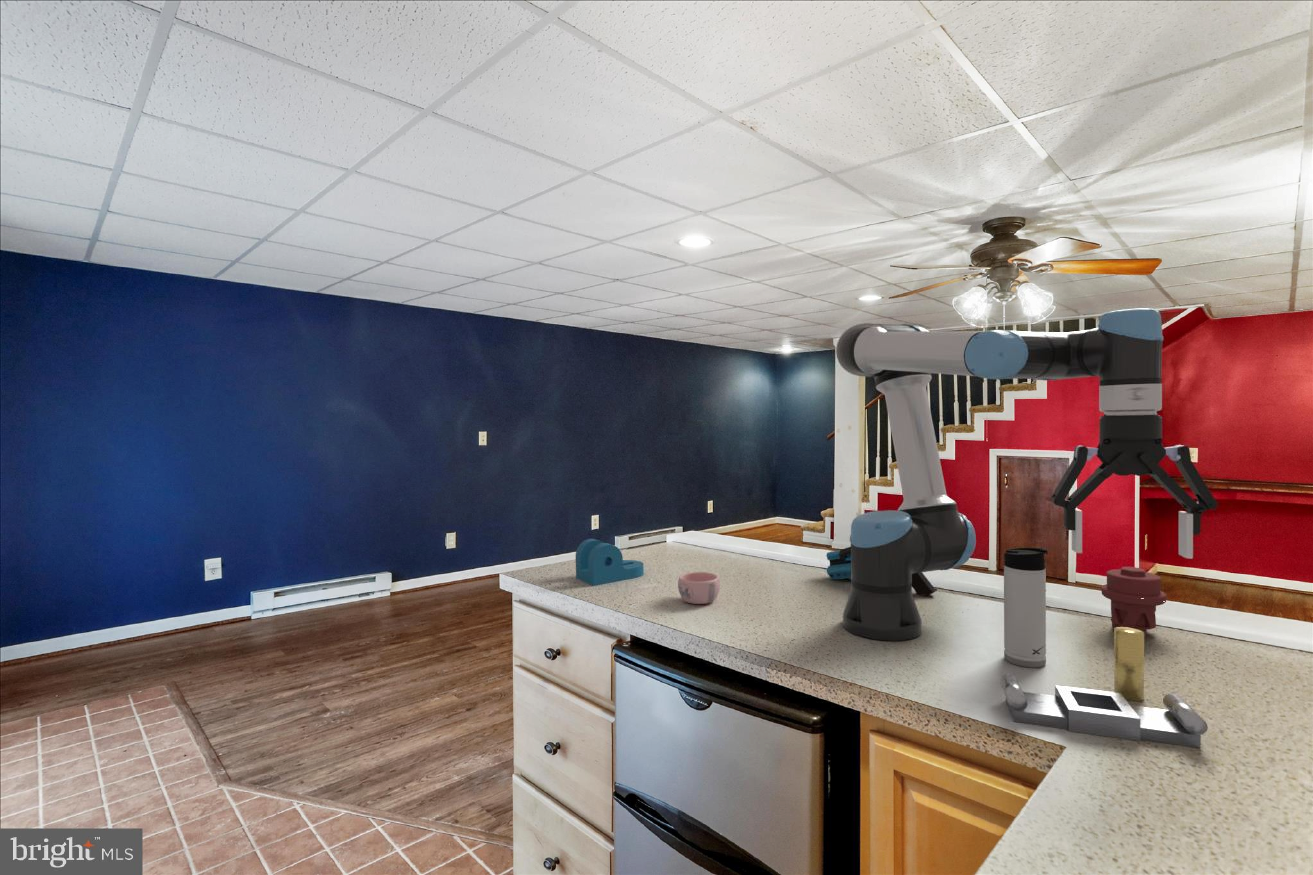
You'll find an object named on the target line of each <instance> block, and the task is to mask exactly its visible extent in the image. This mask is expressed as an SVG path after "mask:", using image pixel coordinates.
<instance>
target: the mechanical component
mask: <svg viewBox="0 0 1313 875" xmlns="http://www.w3.org/2000/svg"><path fill="white" fill-rule="evenodd" d="M1161 579H1162V578H1161V576H1159V575H1158V574H1155V573H1152V572H1149V571H1148V572H1147V571H1146V569H1144V568H1140V567H1135V566H1122V567H1121V568H1119V569H1116V568H1115V569H1114V568H1113V569H1110V570H1108V571H1107V570H1106V584H1104V585H1102V586H1101V595H1102V596H1103V597H1104V598H1106V599H1108V600H1109V601H1110V616H1111V617H1110V621H1111V627H1112V629H1114V628H1116V627H1128V628H1133V629H1137V630H1140V631H1142V632H1144V638H1145V637H1147V636H1146V635H1147V634H1146V633H1147V632H1146V631H1147V630H1149V631H1150V630H1153V629H1155V628H1156V627H1157V622H1156V620H1157V618H1156V612H1157V606H1161V605H1164V604H1165V603H1166V602H1167V594H1166V593H1165V592H1164V591H1163V590H1161V589H1162V587H1161ZM1141 598H1144V599H1141ZM1163 601H1165V602H1163Z"/></svg>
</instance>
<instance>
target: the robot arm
mask: <svg viewBox="0 0 1313 875" xmlns="http://www.w3.org/2000/svg"><path fill="white" fill-rule="evenodd" d="M1162 327H1163V325H1162V316H1161V313H1160V312H1159V311H1158V310H1156V309H1154V308H1147V307H1146V308H1129V309H1121V310H1120V309H1119V310H1118V309H1117V310H1113V311H1109V312H1105V313H1103V314H1101V315H1100V316H1099V319H1098V324H1097V327H1096V328H1091V329H1085V330H1080V331H1079V330H1078V331H1069V332H1055V331H1054V332H1053V331H1051V332H1049V331H1020V330H1009V329H991V330H952V331H951V330H949V331H947V330H942V331H940V330H937V331H935V330H934V331H932V330H931V331H929V330H928V329H926V328H924V327H922V326H918V325H912V324H908V323H901V324H896V323H895V324H892V323H886V324H885V323H871V322H869V323H859V324H856V325H852V326H851V327H849V328H847V329H846V330H845V331H844V332H842V334H841V335H840V337H839V339H838V340H837V344H836V347H835V348H836V349H835V353H836V359H837V361H838V363H839V364H840V367H841V368H842V369H843V370H845V371H846V372H847V373H848V374H849V373H850V374H851V375H854V376H858V377H862V378H863V377H864V378H865V377H867V378H874V382H875V389H876V390H877V391H878V392H880V393H882V394H883V395H884V396H885V397H884V398H885V403H886V404H885V405H886V411H887V414H888V415H887V416H888V420H889V425H890V431H891V437H892V442H893V448H894V453H895V460H896V465H897V471H898V476H899V477H898V478H899V481H900V487H901V492H902V493H901V494H902V497H903V501H902V503H901V505H900V506H899V507H898V509H897V510H893V509H891V510H890V509H888V510H887V509H886V510H874V511H870V512H869V511H868V512H865V513H862V514H859V515H858V516H856V517H854V518H853V520H852V522H851V524H850V535H849V542H850V547H851V578H850V579H851V580H850V585H851V586H850V588H851V589H850V592H849V595H848V598H847V600H846V603H845V606H844V610H843V612H842V626H843V628H844V629H845V630H846V631H847V632H850V633H851V634H854V635H856V636H859V637H863V638H867V639H872V640H877V641H878V640H880V641H893V642H894V641H905V640H911V639H915V638H918V637H920V635H922V631H923V629H922V628H923V625H922V624H923V622H922V618H921V615H920V612H919V609H918V606H917V602H916V601H915V598H914V595H913V588H912V574H914V573H921V572H922V573H927V572H934V571H936V572H937V571H948V570H950V569H953V568H954V569H955V568H958V567H961V566H963V565H965V563H967V562H968V561H969V559H970V557H971V556H972V555H973V554H974V551H975V549H976V544H977V538H976V537H977V536H976V531H975V528H974V526H973V524H972V521H970V520H968V517H967V516H966V515H964V514H963V513H960V512H959V511H958V510H959V509H958V506H957V502H956V501H955V500H953V498H950V497H949V496H948V494H947V491H946V490H947V489H946V485H945V479H944V475H943V470H942V465H941V459H940V453H939V448H938V443H937V437H936V433H935V432H936V431H935V428H934V422H933V418H932V412H931V407H930V406H931V405H930V402H929V398H928V391H927V386H928V385H929V383H930V382H931V380H932V374H940V375H941V374H942V375H954V376H969V377H978V378H983V379H988V380H1007V379H1009V380H1010V379H1012V380H1013V379H1028V380H1030V379H1032V380H1035V381H1053V382H1054V381H1059V380H1065V379H1066V380H1067V379H1078V378H1088V377H1089V378H1090V377H1093V378H1095V377H1098V381H1099V395H1098V397H1099V404H1098V407H1099V409H1098V410H1099V412H1100V413H1103V415H1101V416H1100V417H1099V418H1098V426H1099V427H1098V428H1099V430H1098V434H1099V435H1098V438H1099V439H1098V441H1099V442H1098V446H1097V447H1089V446H1084V445H1076V446H1075V447H1074V451H1073V456H1072V457H1073V459H1072V461H1071V463H1070V464H1069V466H1068V468H1066V471H1065V473H1064V474H1063V476H1062V478H1061V479H1060V481H1059V483H1058V484H1057V486H1056V487H1055V490H1054V491H1053V492H1052V494H1051V495H1050V500H1049V501H1050V503H1052V504H1054V505H1056V506H1058V507H1062V509H1063V525H1064V528H1065V529H1066V530H1067V531H1071V550H1072V551H1074V552H1075V553H1076V554H1083V510H1081V509H1079V508H1078V506H1080V505H1081V504H1082V503H1083V502H1084V501H1085V500H1086V499H1087V498H1088V497H1090V495H1091V494H1092V493H1093V492H1094V491H1096V489H1097V488H1099V487H1100V485H1102V483H1103V482H1104V481H1106V480H1107V479H1108V478H1110V477H1111V476H1112V475H1116V476H1121V477H1124V476H1125V477H1126V476H1130V475H1131V476H1132V475H1134V476H1137V477H1145V476H1147V475H1149V476H1150V477H1152V479H1154V480H1155V481H1156V482H1157V483H1158V484H1159V485H1160V486H1161V487H1163V489H1164V490H1166V491H1167V493H1168V494H1169V495H1170V496H1171V497H1173V498H1174V499H1175V500H1176V502H1178V503H1179V505H1181V506H1182V507H1183V508H1184V509H1185V510H1186V511H1183V510H1179V511H1178V555H1179V556H1181V557H1183V558H1185V559H1191V560H1192V559H1193V558H1194V539H1193V538H1194V536H1200V534H1201V532H1202V527H1201V526H1202V515H1203V514H1204V513H1205V512H1206V511H1210V510H1216V509H1218V507H1219V504H1218V502H1217V500H1216V498H1215V497H1214V495H1213V494H1212V492H1211V491H1210V489H1209V487H1208V486H1207V484H1206V482H1205V481H1204V479H1203V477H1202V476H1201V474H1200V473H1199V471H1198V470H1197V468H1196V466H1195V465H1194V463H1193V461H1192V457H1191V449H1190V447H1189V446H1187V445H1181V444H1175V445H1174V446H1167V447H1164V445H1163V416H1161V415H1160V414H1158V413H1157V412H1158V411H1161V410H1162V409H1163V383H1162V382H1163V381H1162V371H1163V370H1162V365H1163V364H1162V363H1163V341H1164V340H1165V339H1164V338H1165V337H1164V336H1163V328H1162ZM1094 456H1096V457H1097V459H1099V460H1100V461H1101V463H1100V465H1099V466H1098V467H1097V468H1096V469H1095V470H1094V472H1092V474H1091V475H1090V476H1089V477H1088V478H1086V480H1085V481H1084V482H1083V483H1082V484H1081V485H1080V486H1078V487H1077V488H1076V489H1075V491H1073V492H1072V493H1071V494H1070V495H1069V497H1067V496H1068V494H1069V493H1070V491H1071V490H1072V488H1073V486H1074V484H1075V483H1076V481H1077V479H1078V478H1079V476H1080V474H1081V473H1082V471H1083V469H1084V467H1085V466H1086V465H1087V464H1086V463H1087V462H1088V461H1089V462H1090V461H1091V460H1092V458H1093V457H1094ZM1166 456H1167V457H1168V459H1170V460H1171V461H1172V462H1173V461H1174V463H1175V466H1176V467H1177V469H1178V471H1179V473H1180V474H1181V475H1182V478H1183V479H1184V480H1185V482H1186V484H1187V485H1188V487H1189V488H1190V490H1191V492H1192V493H1193V495H1194V497H1195V498H1196V499H1197V501H1196V500H1195V499H1194V498H1193V497H1191V495H1190V494H1189V493H1188V492H1187V491H1185V490H1184V488H1182V487H1181V486H1180V485H1179V484H1178V483H1177V482H1176V481H1175V480H1174V479H1173V477H1171V476H1170V475H1169V474H1168V472H1167V471H1166V470H1165V469H1164V468H1163V467H1162V466H1161V465H1160V464H1159V463H1160V462H1162V460H1163V459H1164V458H1165V457H1166ZM1193 560H1194V559H1193Z"/></svg>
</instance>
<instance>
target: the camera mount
mask: <svg viewBox="0 0 1313 875" xmlns="http://www.w3.org/2000/svg"><path fill="white" fill-rule="evenodd" d="M623 558H624V557H623V553H622V551H621V549H620V548H619V547H617V546H616V545H613V544H611V543H608V542H607V543H606V542H603V541H601V540H598V539H595V538H588V539H585V540H583V541H582V542H581V543H580V544H579V545H578V547H577V548H576V552H575V578H576V579H577V580H579V581H581V582H584V583H586V584H589V585H591V586H593V587H595V586H601V585H606V584H612V583H617V582H622V581H628V580H634V579H637V578H640V577H643V576H644V570H645V569H644V563H643V562H642V561H640V560H633V559H623Z"/></svg>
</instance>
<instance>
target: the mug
mask: <svg viewBox="0 0 1313 875" xmlns="http://www.w3.org/2000/svg"><path fill="white" fill-rule="evenodd" d="M720 582H721V581H720V578H719V576H718V575H716V574H715V573H713V572H706V571H705V572H704V571H693V572H686V573H683V574H681V575H680V576H679V577H678V581H677V589H678V592H679V595H680V597H681V599H682V600H683V601H684V602H686V603H689V604H693V605H705V604H710V603H713V602H714V601H716V599H717V598H718V596H719V593H720V587H721V583H720Z"/></svg>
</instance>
